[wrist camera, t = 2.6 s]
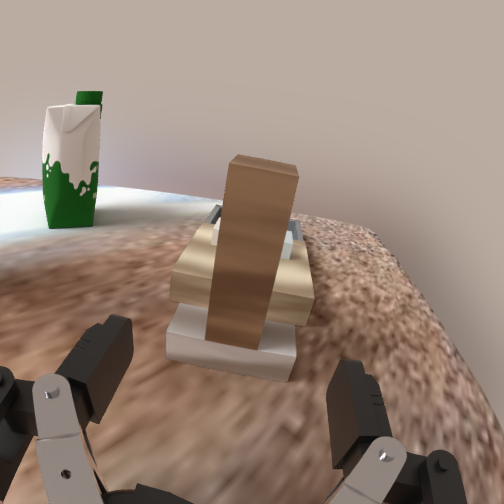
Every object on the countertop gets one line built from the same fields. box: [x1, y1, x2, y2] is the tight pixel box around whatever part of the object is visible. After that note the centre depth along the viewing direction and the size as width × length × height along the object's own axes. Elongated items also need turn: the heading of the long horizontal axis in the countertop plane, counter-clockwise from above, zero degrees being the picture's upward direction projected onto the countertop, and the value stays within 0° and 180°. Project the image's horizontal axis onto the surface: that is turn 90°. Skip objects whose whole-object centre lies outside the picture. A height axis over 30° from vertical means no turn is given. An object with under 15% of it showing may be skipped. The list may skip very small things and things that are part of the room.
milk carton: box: [43, 91, 103, 229], centre depth 40 cm, size 9×9×20 cm
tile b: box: [280, 231, 293, 260], centre depth 38 cm, size 4×4×2 cm
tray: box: [205, 205, 304, 242], centre depth 48 cm, size 10×14×3 cm
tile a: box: [211, 217, 221, 246], centre depth 38 cm, size 4×4×2 cm
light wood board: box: [170, 222, 315, 327], centre depth 37 cm, size 14×14×4 cm
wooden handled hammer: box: [166, 154, 299, 382], centre depth 23 cm, size 4×10×16 cm, turn 85°
